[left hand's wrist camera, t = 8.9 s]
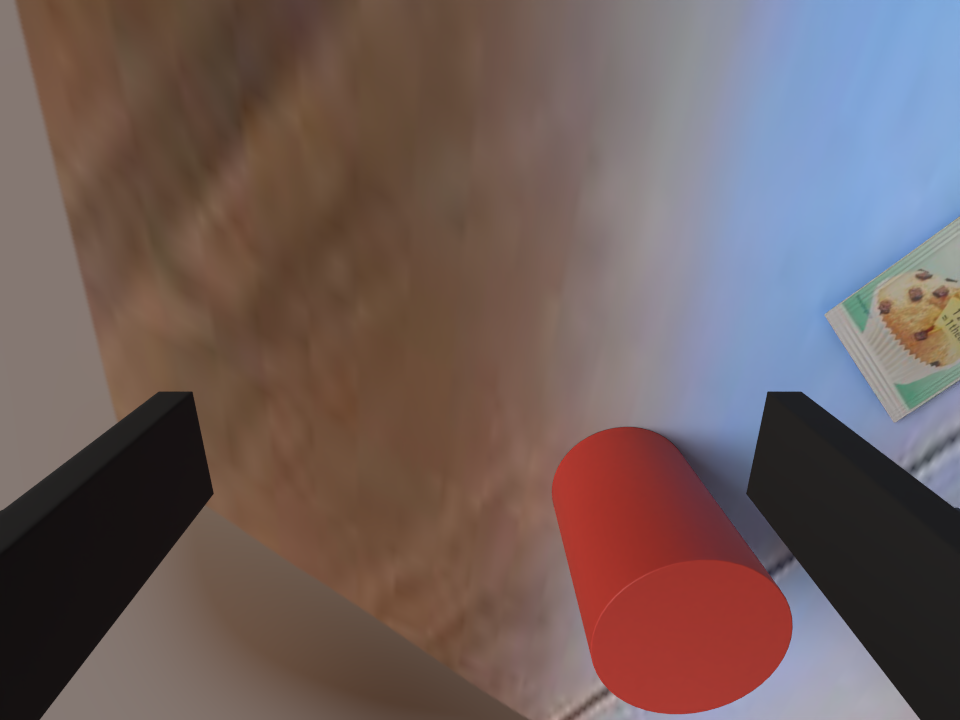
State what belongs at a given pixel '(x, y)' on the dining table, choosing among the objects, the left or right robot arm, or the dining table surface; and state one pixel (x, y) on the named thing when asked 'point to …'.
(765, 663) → the can
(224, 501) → the dining table surface
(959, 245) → the baking ingredient package
